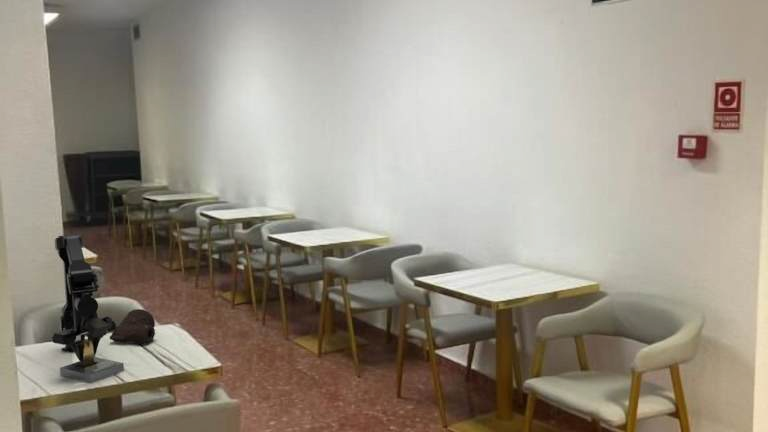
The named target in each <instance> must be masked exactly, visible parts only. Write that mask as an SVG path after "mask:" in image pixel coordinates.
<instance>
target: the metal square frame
mask: <svg viewBox="0 0 768 432" xmlns="http://www.w3.org/2000/svg"><path fill="white" fill-rule="evenodd" d="M124 366H125V365H124V362H121V361H114V360H109V359H106V358H101V357H97V356H95V357H94V363H93V364H90V365H81V364H80V361H79V360H78V361H76V362H73V363H70V364H67V365H64V366H61V367H59V372H60V373H59V374H60V377H64V378H69V379H72V380H77V381H79V382H80V381H81V382H84V383H89V384H92V383H95V382H97V381H101V380H103V379H106V378H109V377H111V376H114V375H116V374H119V373H123V372H124V371H125V369H124V368H125V367H124Z"/></svg>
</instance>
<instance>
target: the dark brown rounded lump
mask: <svg viewBox="0 0 768 432" xmlns="http://www.w3.org/2000/svg"><path fill="white" fill-rule="evenodd" d="M155 322H156V321H155V319H154V316H153V315H152V314H151V313H150V312H149V311H147V310H145V309H140V308H139V309H138V308H137V309H133V310H130V311H129V312H128V313H127V314H126V315H125V317H124V318H123V319H122V322H120V324H119V325H116V330H113V331H112V333H111V334H110V336H109V340H110V341H111V340H112V341H113V342H115V343H124V344H125V343H132V344H136V345H137V344H138V345H140V346H141V345H143V346H144V345H148V344H151V343H152V342H153V340H154V339H155V338H154V337H155V335H156V330H155V326H156V323H155Z"/></svg>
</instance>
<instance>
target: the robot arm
mask: <svg viewBox="0 0 768 432" xmlns="http://www.w3.org/2000/svg"><path fill="white" fill-rule="evenodd" d="M84 247H85V238H84V235H80V234H79V233H71V234H70V233H69V234H65V235H58V237H56V238H55V239H54V248H55V251H57V254H58V256H59V258H60V259H61V260H62V262H63V263H62V264H63V274H64V275H63V276H64V277H63V278H64V291H65V304H64V305H63V307H62V308H61V316H59V331H57V332H55V333H53V335H52V336H51V339H52V343H54V344H58V345H63V346H64V345H65V346H64V347H61V351H65V352H66V351H67V352H69V353H70V352H71V353H74V355H76V358H77V359H78V362H79V361H83V353H82V344H83V342H84V339H86V337H85V335H86V336H87V339H92V340H93V349H94V357H96V353H97V350H98V347H99V344H100V341H101V339H102V338H103V337H104V336H107V333H108V332H109V333H110V332H113V331H114V330H116V327H117V324H116V322H115V321H114V320H112V317H111V316H109V315H108V316H105V317H100V318H99V317H98V313H97V312H98V309H99V302H98V301H97V299H96V298H95V297H94V295H93V293H96V292H98V288H99V287H100V286H99V285H100V284H99V280H98V275H97V273H96V271H95V270H93V269H92V266H91V264H90V263H89V262H87V261H86V260H85V256H84V252H83V249H84Z"/></svg>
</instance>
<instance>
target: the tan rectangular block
mask: <svg viewBox="0 0 768 432" xmlns="http://www.w3.org/2000/svg"><path fill="white" fill-rule="evenodd" d="M82 353H83V361H80V364H81V365H90V364H93V363H94V349H93V340H92V339H88V338H85V339H84V342H83V344H82Z"/></svg>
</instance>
